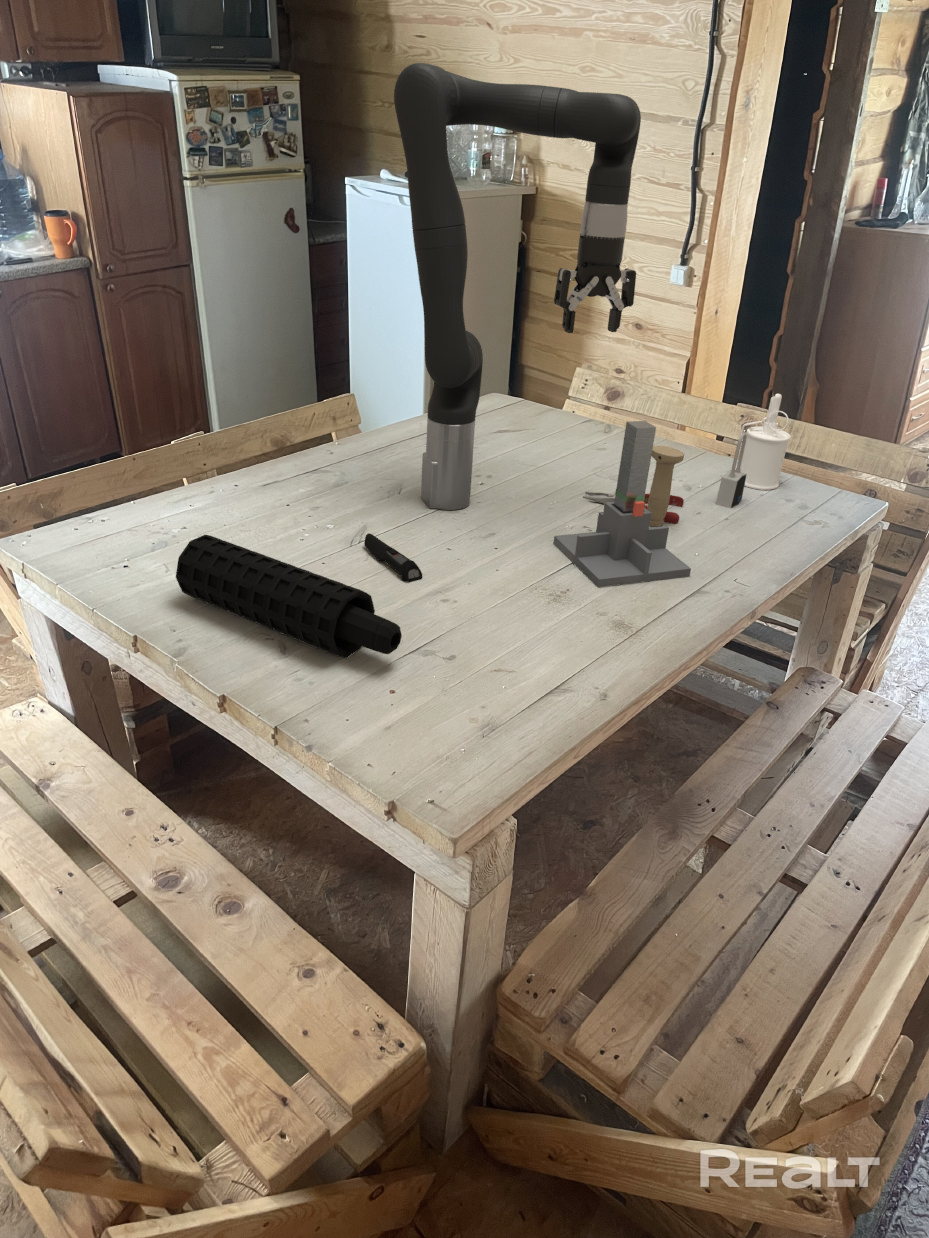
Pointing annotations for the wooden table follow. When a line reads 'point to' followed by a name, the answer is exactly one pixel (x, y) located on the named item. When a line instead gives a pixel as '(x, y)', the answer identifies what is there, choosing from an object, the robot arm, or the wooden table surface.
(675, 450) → the handle
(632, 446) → the column
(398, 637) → the roller
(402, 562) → the electric trimmer
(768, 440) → the white oil can
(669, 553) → the stand
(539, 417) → the wooden table surface
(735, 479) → the padlock
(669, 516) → the pliers
